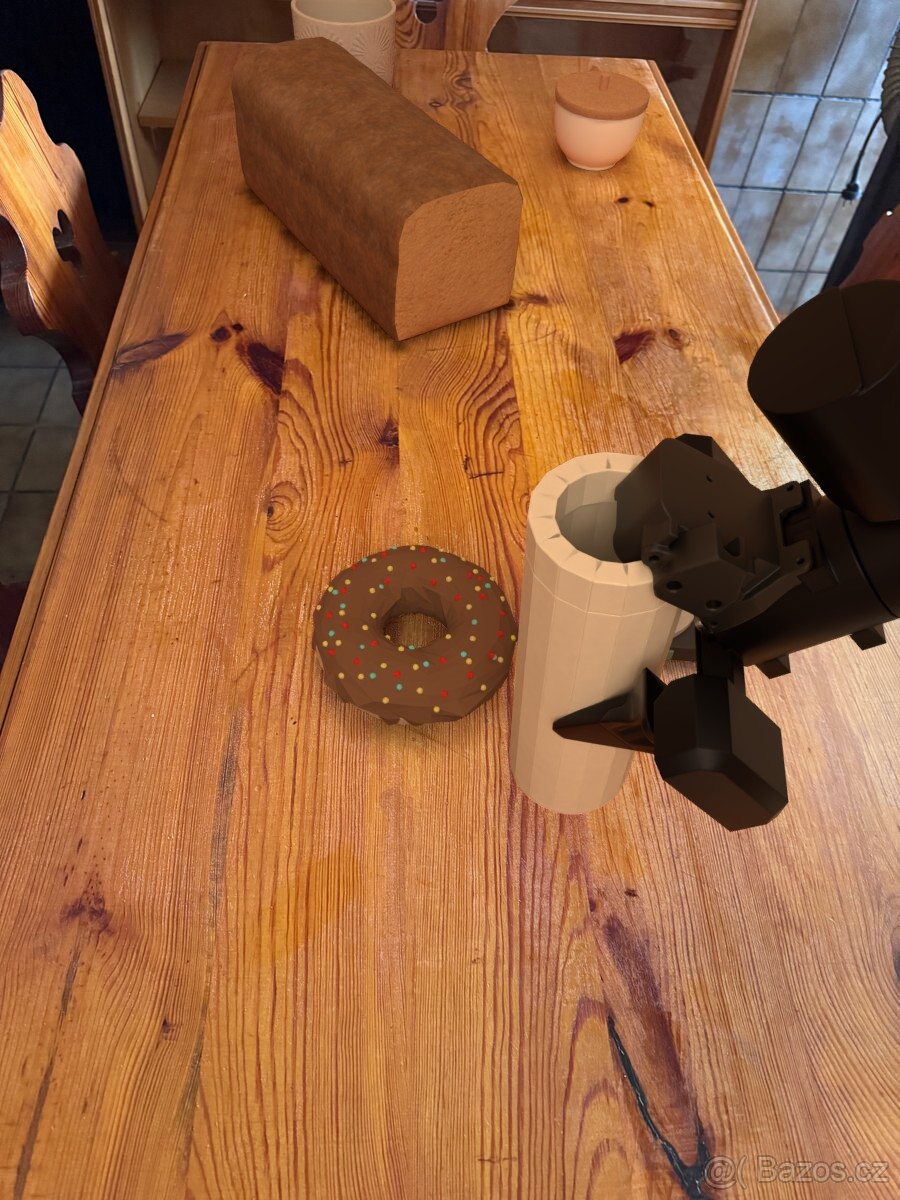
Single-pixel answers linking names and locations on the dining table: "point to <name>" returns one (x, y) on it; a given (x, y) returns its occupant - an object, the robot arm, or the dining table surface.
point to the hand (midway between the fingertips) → (562, 667)
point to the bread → (375, 187)
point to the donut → (407, 674)
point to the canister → (579, 633)
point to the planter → (352, 29)
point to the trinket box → (598, 117)
